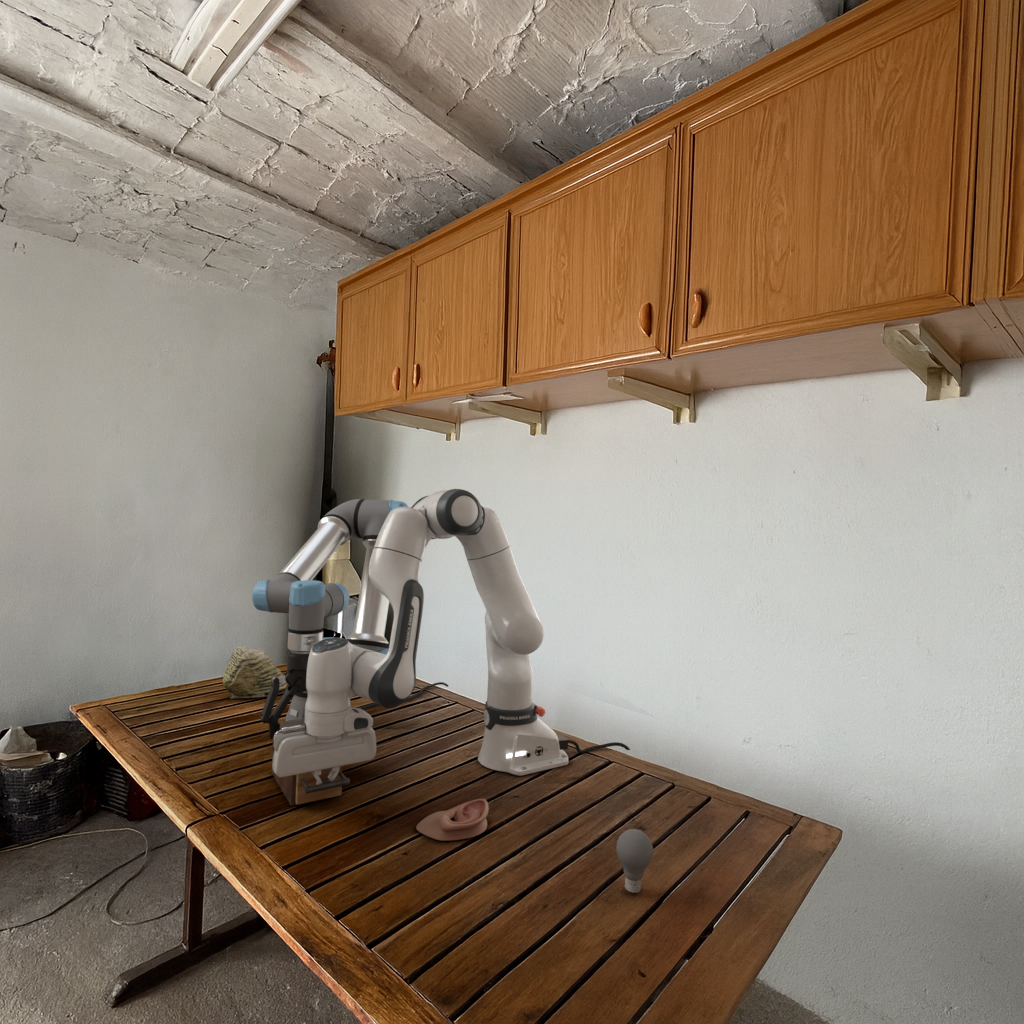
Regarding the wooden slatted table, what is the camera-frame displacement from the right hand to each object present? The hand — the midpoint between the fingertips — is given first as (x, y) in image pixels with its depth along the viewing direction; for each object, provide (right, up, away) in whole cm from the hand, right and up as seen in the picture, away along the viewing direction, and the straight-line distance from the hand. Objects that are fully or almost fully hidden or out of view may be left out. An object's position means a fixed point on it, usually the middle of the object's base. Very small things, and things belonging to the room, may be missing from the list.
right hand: (324, 788), depth 128 cm
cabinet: (-8, -4, +12) cm, 15 cm away
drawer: (-5, -3, +7) cm, 9 cm away
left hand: (-10, +3, +15) cm, 18 cm away
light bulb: (+58, -8, -22) cm, 62 cm away
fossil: (-43, -1, +70) cm, 82 cm away
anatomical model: (+26, -6, -4) cm, 27 cm away
